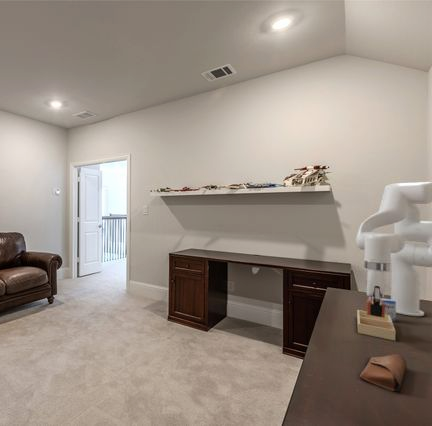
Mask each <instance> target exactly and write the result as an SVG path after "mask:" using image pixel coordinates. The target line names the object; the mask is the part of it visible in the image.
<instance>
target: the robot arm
mask: <svg viewBox="0 0 432 426" xmlns="http://www.w3.org/2000/svg"><path fill="white" fill-rule="evenodd" d="M431 203H432V181H417V182H414V181H413V182H397V183H390V184H387V185H385V187H384V189H383V194H382V198H381V201H380V205H379V208H378V211H377V212H375V213H374V214H372V215H369V217H367V218H366V219H365V220H364V221H363V222H361V224H360V225H359V227H358V230H357V234H356V237H355V244H356V246H357V248H358V249H360V250H362V251H364V253H363V254H364V256H363V258H364V259H363V269H364V270H366V289H365V290H366V291H365V292H366V296H367V297H371V300H372V304H371V311H370V314H371V315H374V316H379V317H381V316H382V306H381V300H382V298H384V299H385V295H386V294H385V293H386V281H387V280H386V278H387V273H390V274H391V275H390V277H391V278H390V299H392V300H394V301H395V302H396V314H399V315H403V316H409V317H423V316H425V312H424V311H423V310H421V309H420V297H421V275H420V273H419V272H418V270H417V269H416V268H415V266H416V267H424V268H432V220H421V208H420V207H419V206H418V205H428V204H431ZM389 225H393V233H389V232H388V233H386V232H373V231H374V230H375V229H378V228H381V227H386V226H389ZM405 241H406V242H415V244H414V243H405ZM416 242H417V243H427V245H426V244H416Z"/></svg>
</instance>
